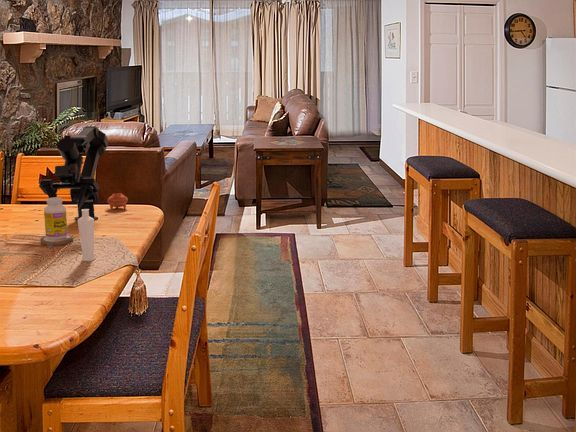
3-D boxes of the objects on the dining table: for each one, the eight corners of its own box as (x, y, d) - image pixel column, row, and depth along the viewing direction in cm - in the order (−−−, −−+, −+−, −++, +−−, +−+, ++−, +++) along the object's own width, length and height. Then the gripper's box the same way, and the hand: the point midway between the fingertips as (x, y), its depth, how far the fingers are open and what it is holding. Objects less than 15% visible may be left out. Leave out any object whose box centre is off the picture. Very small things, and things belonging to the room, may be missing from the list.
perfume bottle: (89, 256, 192) (86, 207, 189) (99, 258, 190) (96, 209, 186) (76, 259, 189) (73, 210, 185) (86, 262, 186) (83, 212, 183)
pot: (116, 211, 249) (112, 194, 249) (105, 212, 255) (102, 196, 254) (133, 207, 255) (130, 190, 255) (122, 208, 261) (119, 192, 260)
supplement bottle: (53, 241, 203) (50, 201, 200) (41, 238, 206) (38, 198, 204) (72, 237, 208) (69, 198, 205) (60, 234, 212) (57, 195, 209)
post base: (48, 236, 213) (48, 232, 213) (78, 236, 214) (78, 232, 213) (33, 247, 201) (33, 243, 201) (65, 247, 201) (65, 243, 201)
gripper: (36, 156, 214) (27, 196, 207) (91, 153, 213) (84, 194, 206) (49, 174, 224) (41, 213, 217) (102, 171, 223) (96, 211, 215)
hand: (65, 207), depth 213 cm, fingers open, 9 cm apart
